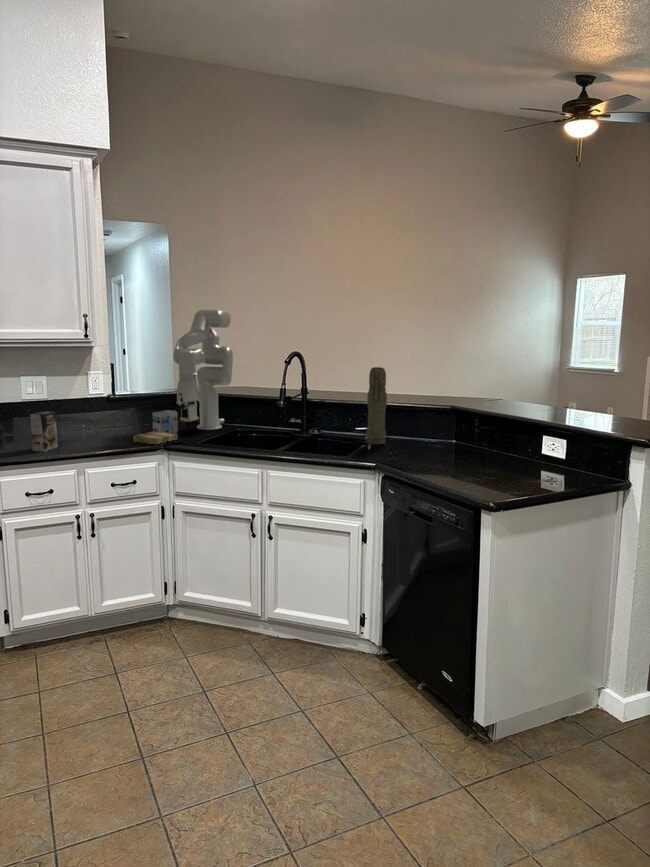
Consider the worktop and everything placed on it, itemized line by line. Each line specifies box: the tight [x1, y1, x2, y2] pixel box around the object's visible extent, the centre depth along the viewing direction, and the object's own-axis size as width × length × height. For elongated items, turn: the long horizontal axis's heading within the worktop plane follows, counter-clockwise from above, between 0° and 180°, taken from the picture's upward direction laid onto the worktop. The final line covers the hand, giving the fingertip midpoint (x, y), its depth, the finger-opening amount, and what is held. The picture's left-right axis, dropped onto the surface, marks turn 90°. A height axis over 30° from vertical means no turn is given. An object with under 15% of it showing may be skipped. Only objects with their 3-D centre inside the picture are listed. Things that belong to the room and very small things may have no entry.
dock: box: [132, 431, 179, 446], centre depth 297 cm, size 14×14×3 cm
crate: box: [179, 402, 200, 423], centre depth 298 cm, size 6×6×7 cm
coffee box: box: [30, 410, 58, 453], centre depth 276 cm, size 9×6×16 cm
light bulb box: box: [151, 409, 179, 434], centre depth 316 cm, size 11×7×11 cm, turn 143°
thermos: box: [365, 366, 388, 445], centre depth 294 cm, size 9×12×35 cm
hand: (189, 416), depth 298 cm, fingers closed on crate, 5 cm apart
